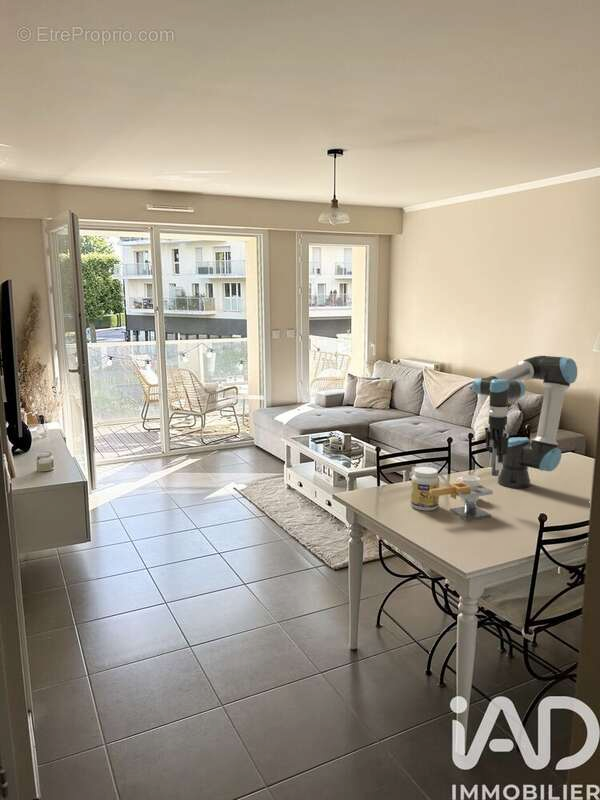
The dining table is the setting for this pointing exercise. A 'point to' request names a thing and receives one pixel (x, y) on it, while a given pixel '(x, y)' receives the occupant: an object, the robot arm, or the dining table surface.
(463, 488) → the wooden handled frame
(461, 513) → the ball joint plate
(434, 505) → the supplement tub
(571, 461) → the dining table surface
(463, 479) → the cup
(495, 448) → the wedge pin
